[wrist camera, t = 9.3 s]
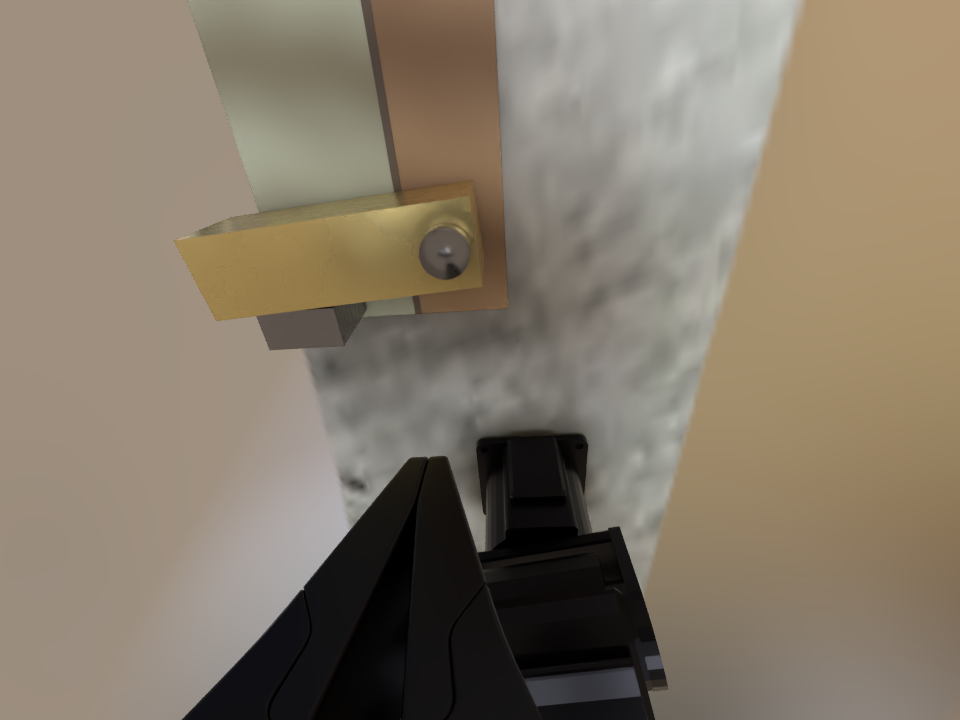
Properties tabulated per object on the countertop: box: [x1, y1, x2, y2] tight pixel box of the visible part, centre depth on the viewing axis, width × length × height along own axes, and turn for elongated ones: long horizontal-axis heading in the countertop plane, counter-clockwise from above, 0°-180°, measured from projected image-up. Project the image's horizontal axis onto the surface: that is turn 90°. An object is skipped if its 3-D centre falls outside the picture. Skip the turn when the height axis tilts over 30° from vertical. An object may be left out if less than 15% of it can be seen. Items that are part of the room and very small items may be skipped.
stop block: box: [257, 302, 367, 350], centre depth 17 cm, size 2×3×4 cm, turn 95°
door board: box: [187, 0, 508, 317], centre depth 15 cm, size 18×10×1 cm, turn 4°
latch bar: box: [174, 180, 484, 321], centre depth 15 cm, size 10×3×4 cm, turn 98°
